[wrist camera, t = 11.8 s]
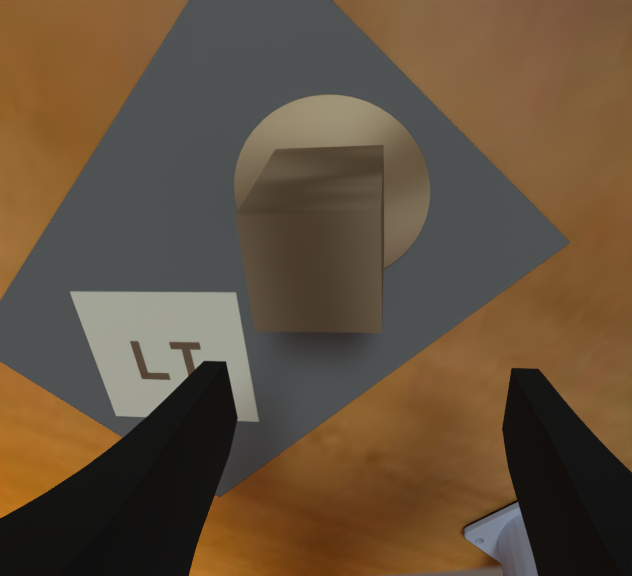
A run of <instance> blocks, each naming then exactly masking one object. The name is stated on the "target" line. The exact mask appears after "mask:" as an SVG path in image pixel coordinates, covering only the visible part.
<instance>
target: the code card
mask: <svg viewBox="0 0 632 576" xmlns="http://www.w3.org/2000/svg"><path fill="white" fill-rule="evenodd" d="M70 294H71V297H72V299H73V302H74V305H75V307H76V310H77V313H78V315H79V318H80V321H81V324H82V326H83V329H84V332H85V334H86V337H87V340H88V342H89V345H90V348H91V350H92V353H93V356H94V358H95V361H96V364H97V366H98V369H99V372H100V374H101V377H102V380H103V382H104V385H105V388H106V390H107V393H108V396H109V398H110V401H111V404H112V406H113V409H114V412H115V414H116V416H128V417H147V416H148V415H149V414H150V413H151V412H152V411H153V410H154V409H155V408H156V407H157V406H159V405H160V404H161V403H162V402H163V401H164V400H165V399H166V398H167V397H168V396H169V395H170V394H171V393H172V392H173V391H174V390H175V389H176V388H177V387H178V386H179V385H180V384H181V383H182V382H183V381H184V380H185V379H186V378H187V377H188V376H189V375H190V374H191V373H192V372H193V371H194V370H195V369H196V368H197V367H198V366H199V365H200V364H201V363H202V362H203V361H226V363H227V368H228V373H229V378H230V383H231V388H232V392H233V397H234V402H235V407H236V412H237V417H238V419H237V421H251V422H259V417H258V412H257V406H256V401H255V395H254V389H253V384H252V378H251V372H250V367H249V361H248V355H247V350H246V344H245V338H244V333H243V327H242V321H241V316H240V310H239V304H238V299H237V293H236V292H80V291H71V292H70Z"/></svg>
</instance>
